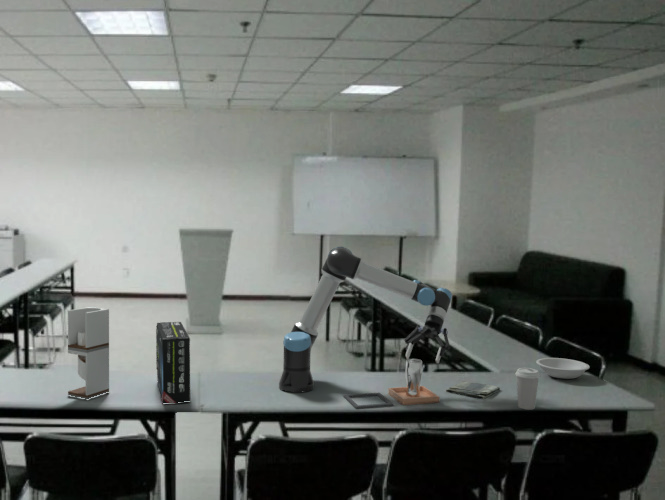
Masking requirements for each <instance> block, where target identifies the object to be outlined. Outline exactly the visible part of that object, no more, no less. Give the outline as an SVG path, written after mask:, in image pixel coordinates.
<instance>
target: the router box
mask: <svg viewBox="0 0 665 500" xmlns="http://www.w3.org/2000/svg"><path fill="white" fill-rule="evenodd" d="M155 335H156V336H155V340H156V343H155V344H156V345H155V346H156V347H155V349H156V350H155V351H156V353H155V354H156V358H155V359H156V362H155V364H156V370H157V371H156V375H157V376H156V379H157V381H158V382H157V386H158V385H159V386H158V390H159V394H161V395H160V399H161V398H162V399H161V403H162V402H163V403H178V402H184V401H190V402H191V350H190V347H191V344H190V343H191V338H190V336H189V334H188V332H187V330H186V329H185V326H184V325H183V323H182V321H168V322H161V321H160V322H157V323H156V328H155ZM163 403H162V404H163Z"/></svg>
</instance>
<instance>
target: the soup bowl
mask: <svg viewBox="0 0 665 500" xmlns="http://www.w3.org/2000/svg"><path fill="white" fill-rule="evenodd" d="M535 362H536V364H537V365H538V366H539V367H540V369H541V370H542V372H544V373H545V374H546V375H548V376H550V377H553V378H557V379H565V380H566V379H567V380H569V379H570V380H572V379H576V378H579V377H580V376H582V375H583V374H584V373H585V371H587V370H589V369H590V367H591V366H590V365H589V364H588V363H585V362H583V361H580V360H575V359H570V358H569V359H568V358H561V357H560V358H559V357H544V358H540V359H539V358H538V359H536V361H535Z"/></svg>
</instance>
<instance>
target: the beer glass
mask: <svg viewBox="0 0 665 500" xmlns="http://www.w3.org/2000/svg"><path fill="white" fill-rule="evenodd" d="M422 377H423V361H422V360H421V359H418V358H409V359H407V358H406V360H405V381H406V387H407V392H406V397H409V398H418V397H420V386H421V381H422Z"/></svg>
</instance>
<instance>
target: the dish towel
mask: <svg viewBox="0 0 665 500" xmlns="http://www.w3.org/2000/svg"><path fill="white" fill-rule="evenodd" d="M500 390H501V388H500V386H496V385H492V384H485V383H479V382H472V381H466V380H463V381H462V382H460V383H458V384H456V385H453V386H451V387H449V388H447V389H445V392H446V393H452V394H456V395H459V394H460V395H461V396H466V397H468V398H469V397H470V398H475V399H476V398H477V399H481V400H484V399H487V398H488V397H491V395H493V394H495V392H496V393H497V392H500ZM460 395H459V396H460Z"/></svg>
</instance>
